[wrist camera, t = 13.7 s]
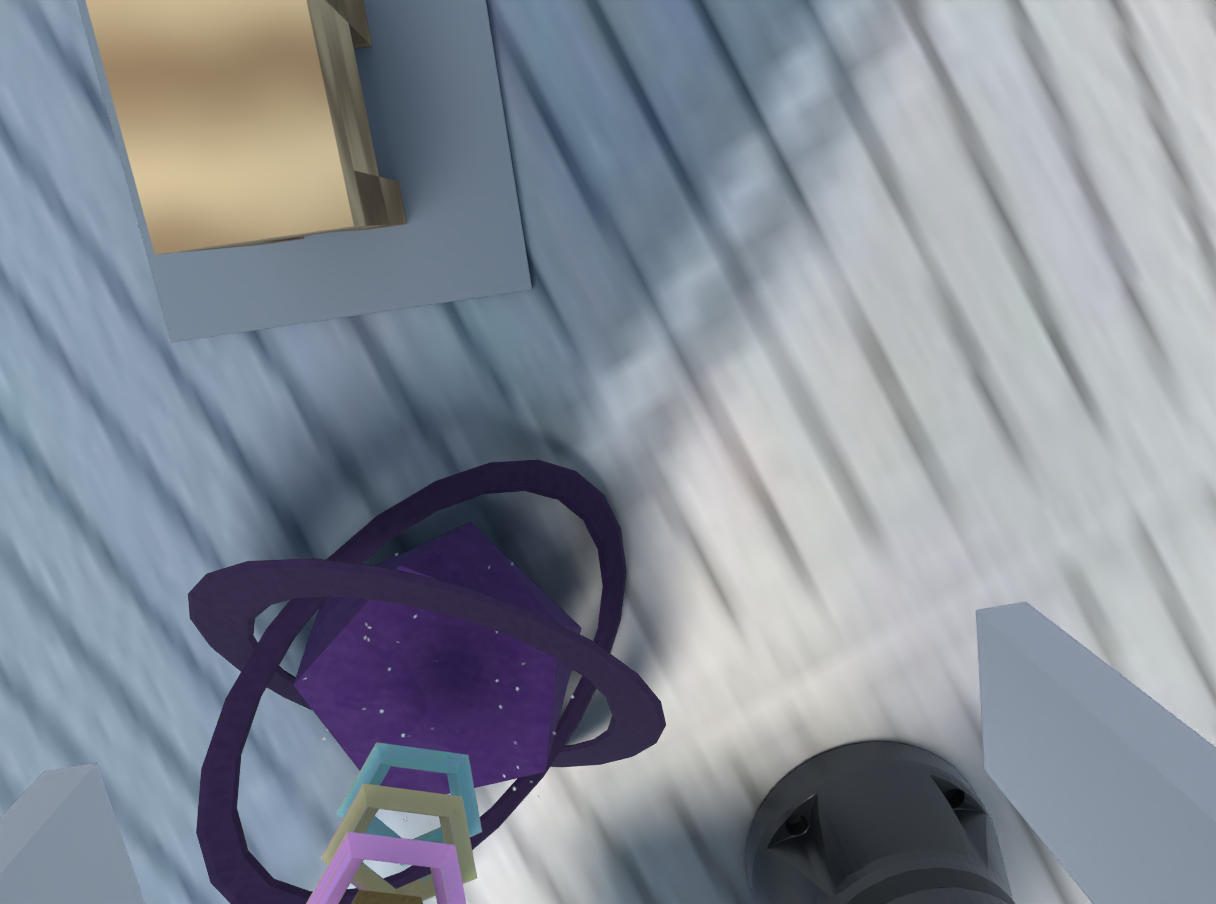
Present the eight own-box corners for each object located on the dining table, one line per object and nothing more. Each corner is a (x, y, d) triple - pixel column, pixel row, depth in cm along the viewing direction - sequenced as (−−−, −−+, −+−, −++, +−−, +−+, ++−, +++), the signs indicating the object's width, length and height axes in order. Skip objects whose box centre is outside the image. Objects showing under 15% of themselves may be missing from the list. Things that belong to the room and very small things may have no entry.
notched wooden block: (407, 224, 42) (354, 226, 31) (262, 244, 42) (154, 254, 30) (363, -1, 39) (286, -92, 28) (209, 20, 39) (68, -63, 28)
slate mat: (468, -111, 39) (466, -117, 39) (531, 288, 44) (531, 289, 43) (69, -58, 39) (59, -63, 38) (177, 340, 44) (171, 342, 43)
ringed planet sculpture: (233, 747, 50) (-62, 1242, 26) (272, 393, 45) (-50, 597, 21) (614, 797, 52) (671, 1291, 28) (692, 469, 47) (843, 729, 23)
